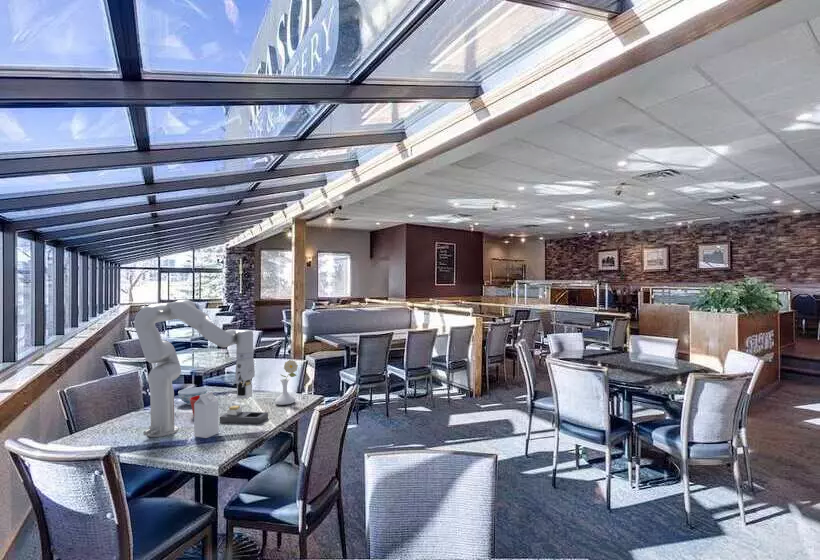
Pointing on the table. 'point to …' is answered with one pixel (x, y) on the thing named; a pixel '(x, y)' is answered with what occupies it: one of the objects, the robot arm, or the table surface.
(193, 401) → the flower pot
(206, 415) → the milk carton
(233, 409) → the tan topped grey block
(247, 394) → the grey and tan block
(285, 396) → the flower in vase
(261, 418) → the dark grey slotted board
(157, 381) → the robot arm
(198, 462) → the table surface
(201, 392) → the chinaware
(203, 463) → the table surface
